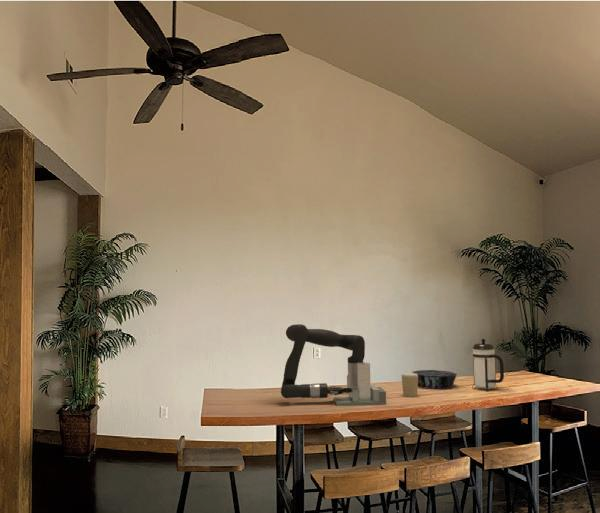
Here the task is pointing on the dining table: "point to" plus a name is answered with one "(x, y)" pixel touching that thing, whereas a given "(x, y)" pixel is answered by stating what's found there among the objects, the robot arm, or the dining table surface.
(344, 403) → the vise base
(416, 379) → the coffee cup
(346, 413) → the dining table surface
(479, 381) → the coffee press
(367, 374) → the steel block
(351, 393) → the sliding jaw
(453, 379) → the decorative bowl
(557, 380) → the dining table surface
